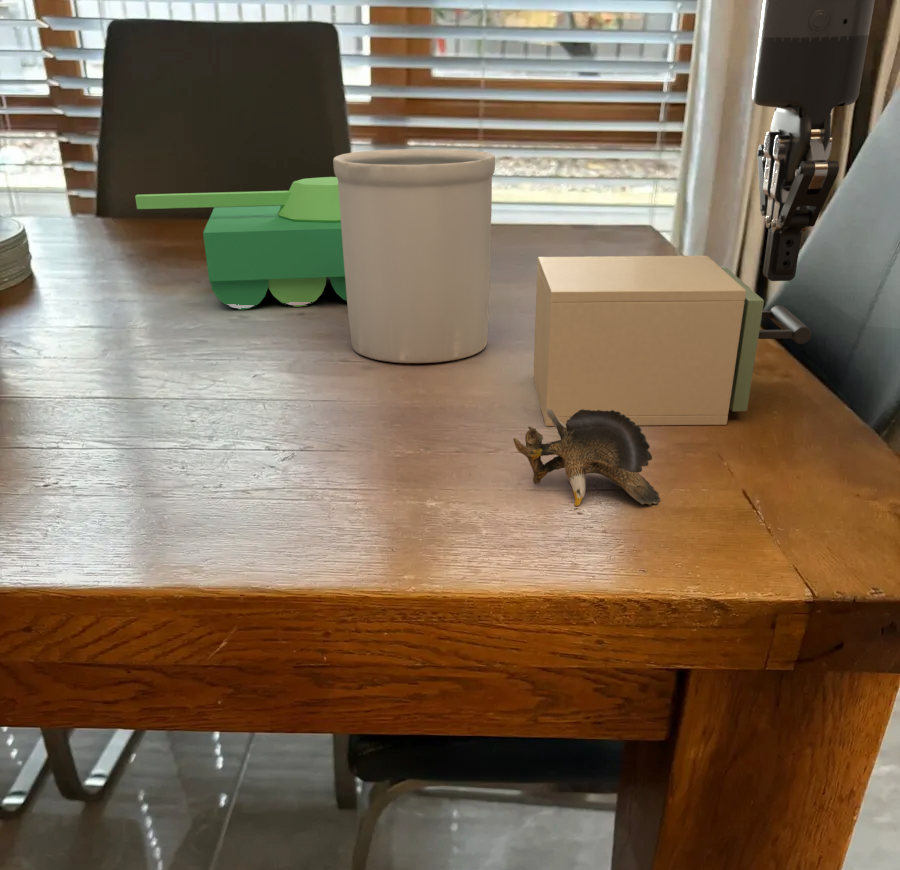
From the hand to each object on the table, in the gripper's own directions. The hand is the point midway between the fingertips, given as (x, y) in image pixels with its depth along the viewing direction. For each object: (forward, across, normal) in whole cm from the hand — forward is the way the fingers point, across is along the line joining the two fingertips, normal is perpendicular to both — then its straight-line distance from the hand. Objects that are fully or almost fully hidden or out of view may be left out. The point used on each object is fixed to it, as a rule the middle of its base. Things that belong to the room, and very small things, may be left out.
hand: (778, 278), depth 79 cm
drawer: (+9, 0, +7) cm, 11 cm away
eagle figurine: (+10, -20, +17) cm, 28 cm away
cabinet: (+10, 0, +12) cm, 15 cm away
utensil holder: (+10, +17, +30) cm, 36 cm away
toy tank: (+9, +40, +45) cm, 61 cm away
